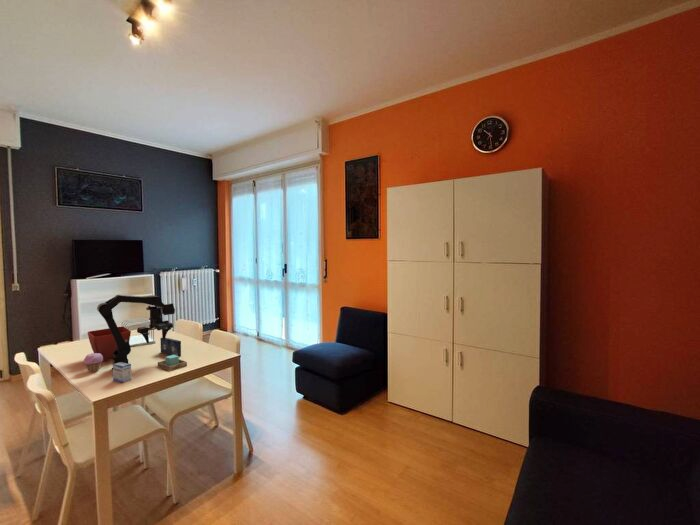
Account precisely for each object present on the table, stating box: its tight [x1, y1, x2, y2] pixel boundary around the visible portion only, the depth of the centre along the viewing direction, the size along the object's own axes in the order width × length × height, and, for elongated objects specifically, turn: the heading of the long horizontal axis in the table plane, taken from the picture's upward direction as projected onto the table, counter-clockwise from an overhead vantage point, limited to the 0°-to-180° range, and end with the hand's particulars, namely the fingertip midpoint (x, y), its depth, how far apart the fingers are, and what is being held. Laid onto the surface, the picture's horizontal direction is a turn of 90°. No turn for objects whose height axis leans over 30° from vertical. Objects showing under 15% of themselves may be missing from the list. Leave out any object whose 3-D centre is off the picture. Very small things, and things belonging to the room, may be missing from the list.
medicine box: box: [112, 362, 132, 384], centre depth 175 cm, size 8×4×9 cm, turn 69°
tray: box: [157, 359, 188, 371], centre depth 196 cm, size 10×13×2 cm
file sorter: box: [121, 317, 156, 348], centre depth 247 cm, size 25×17×16 cm
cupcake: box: [83, 352, 104, 373], centre depth 188 cm, size 9×9×10 cm
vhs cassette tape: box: [160, 337, 182, 357], centre depth 218 cm, size 18×3×10 cm, turn 59°
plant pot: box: [87, 325, 132, 363], centre depth 211 cm, size 19×19×17 cm
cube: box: [165, 355, 180, 366], centre depth 196 cm, size 5×5×5 cm
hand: (155, 341), depth 204 cm, fingers open, 9 cm apart
